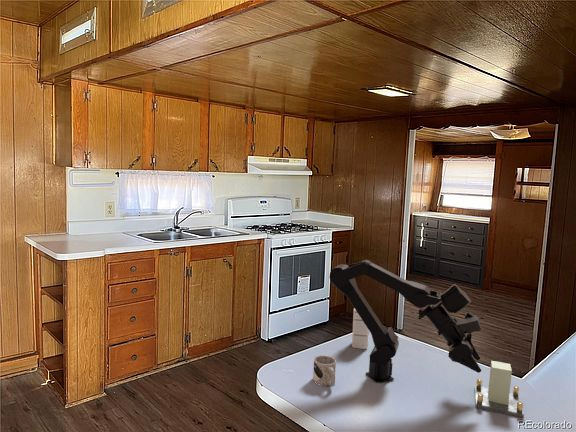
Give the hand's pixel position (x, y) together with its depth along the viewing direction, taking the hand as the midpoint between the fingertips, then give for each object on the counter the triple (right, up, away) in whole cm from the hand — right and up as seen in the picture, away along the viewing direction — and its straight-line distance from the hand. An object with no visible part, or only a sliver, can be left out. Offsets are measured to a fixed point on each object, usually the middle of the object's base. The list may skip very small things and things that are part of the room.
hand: (479, 365), depth 130 cm
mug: (-44, -8, +6) cm, 45 cm away
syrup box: (-29, -5, +36) cm, 47 cm away
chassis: (+5, -10, -1) cm, 11 cm away
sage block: (+5, -9, -1) cm, 11 cm away
